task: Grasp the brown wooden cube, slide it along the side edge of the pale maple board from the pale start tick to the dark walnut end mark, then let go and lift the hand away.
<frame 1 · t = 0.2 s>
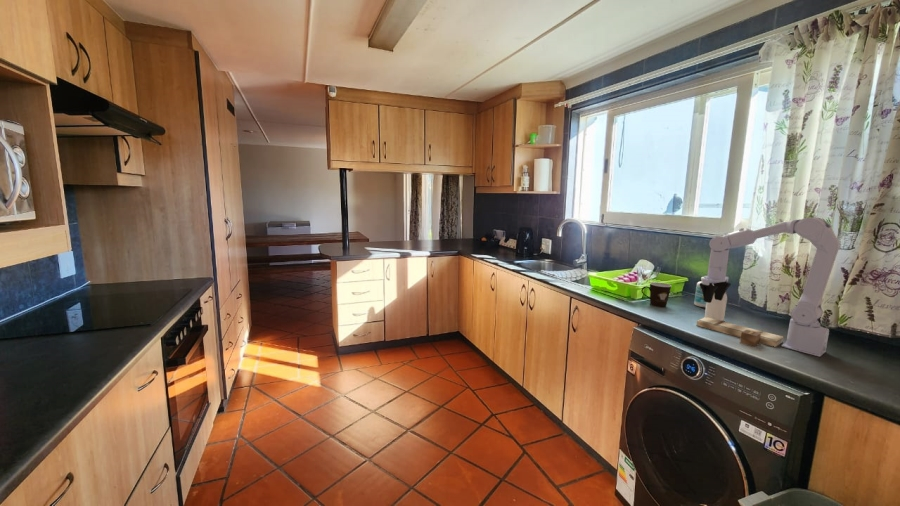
hand: (712, 300, 141), 10 cm above the counter, tool pointing down, fingers open, 7 cm apart
maple board: (737, 333, 134), on the counter
pill bottle: (703, 306, 169), on the counter
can: (713, 320, 149), on the counter
brown wooden cube: (749, 343, 125), on the counter
coffee mug: (654, 305, 168), on the counter
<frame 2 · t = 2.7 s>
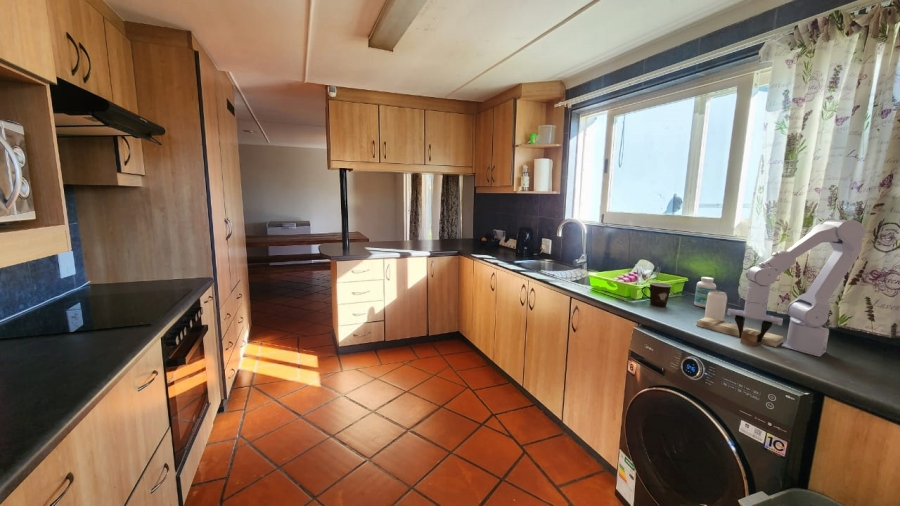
hand: (750, 339, 125), 1 cm above the counter, tool pointing down, fingers closed on brown wooden cube, 4 cm apart
brown wooden cube: (749, 343, 125), on the counter, touching gripper
everything else where it was.
when the fingers open (1 cm above the counter, at t = 3.4 s): brown wooden cube moves 8 cm, on the counter.
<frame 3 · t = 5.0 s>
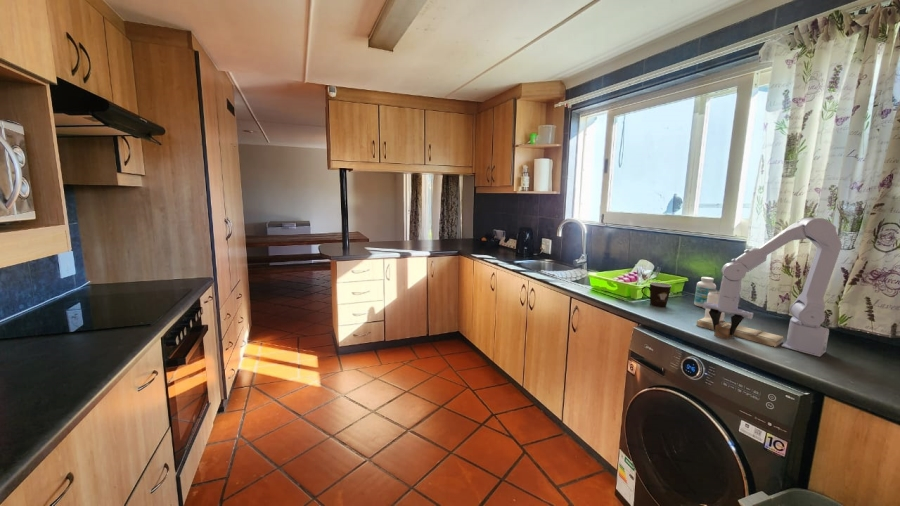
hand: (723, 332, 131), 1 cm above the counter, tool pointing down, fingers open, 4 cm apart
brown wooden cube: (723, 336, 131), on the counter, touching gripper
everything else where it was.
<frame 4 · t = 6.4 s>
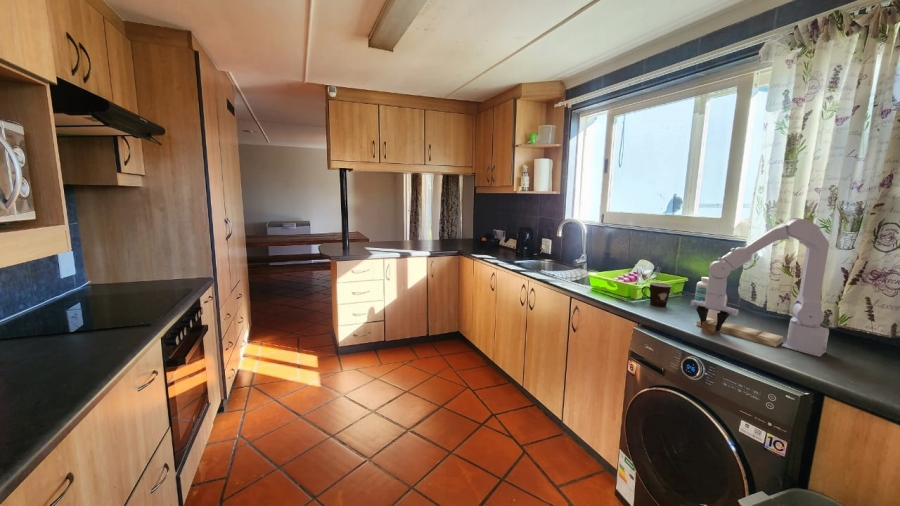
hand: (710, 328, 135), 1 cm above the counter, tool pointing down, fingers open, 4 cm apart
brown wooden cube: (709, 332, 135), on the counter
everything else where it was.
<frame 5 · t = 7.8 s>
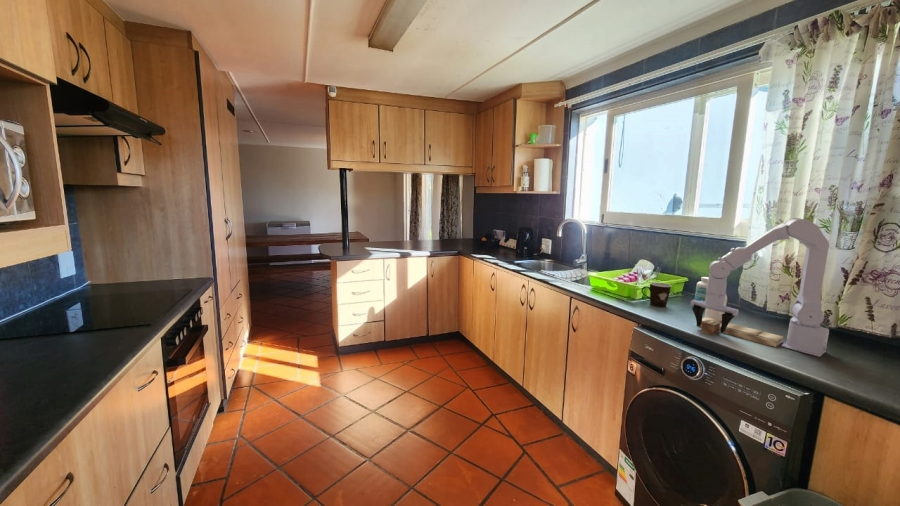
hand: (710, 328, 135), 1 cm above the counter, tool pointing down, fingers open, 7 cm apart
nothing on the counter moved.
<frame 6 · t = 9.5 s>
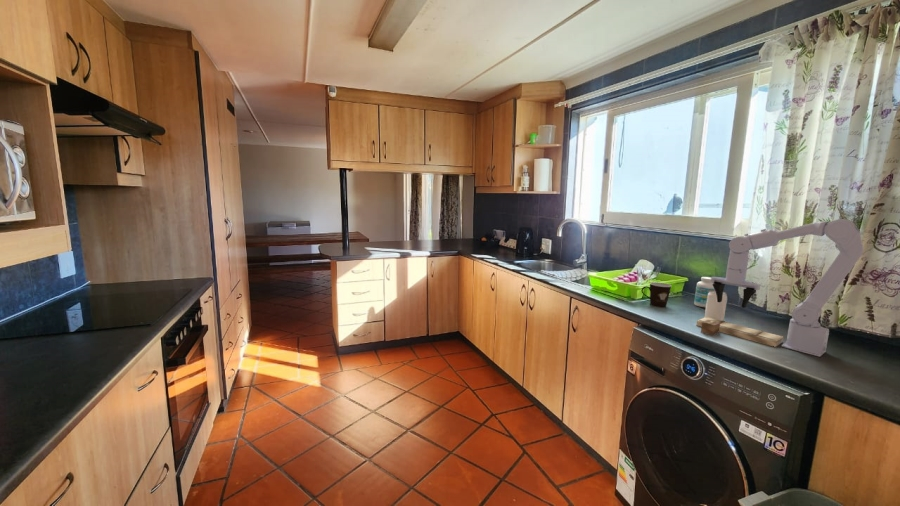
hand: (731, 304, 135), 10 cm above the counter, tool pointing down, fingers open, 7 cm apart
nothing on the counter moved.
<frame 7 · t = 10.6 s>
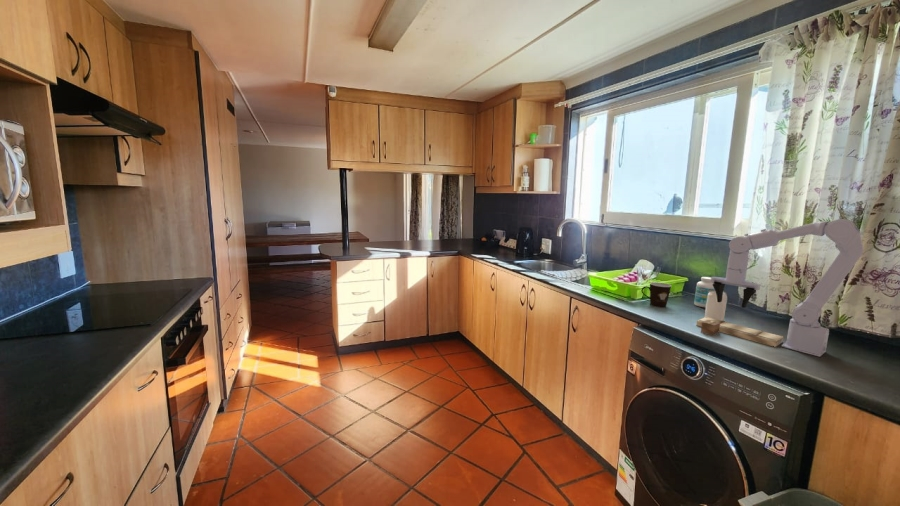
hand: (731, 304, 135), 10 cm above the counter, tool pointing down, fingers open, 7 cm apart
nothing on the counter moved.
at the end: brown wooden cube 0.3 cm from the target spot, on the counter; brown wooden cube tilted 0°; the gripper is holding nothing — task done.
